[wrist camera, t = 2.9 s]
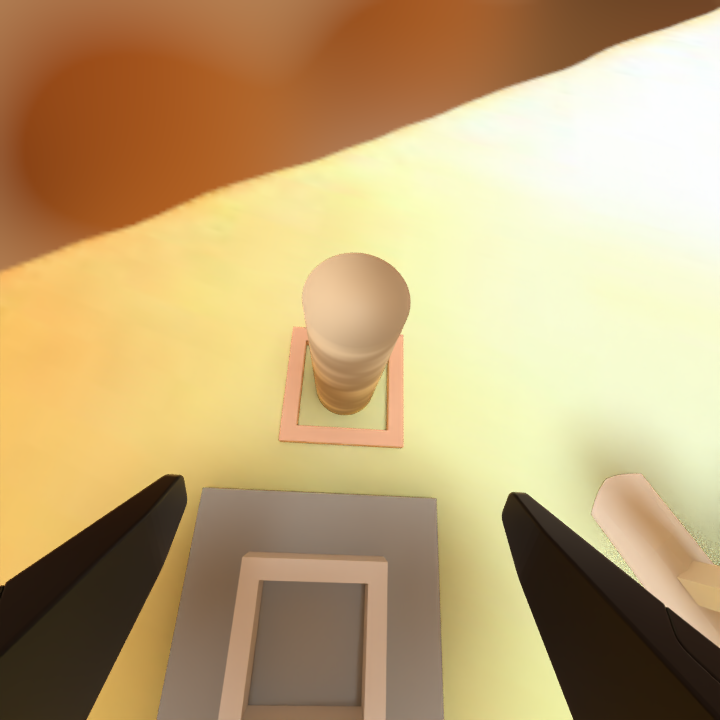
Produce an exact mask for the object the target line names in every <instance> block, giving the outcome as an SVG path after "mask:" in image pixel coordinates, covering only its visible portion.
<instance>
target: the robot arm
mask: <svg viewBox="0 0 720 720" xmlns="http://www.w3.org/2000/svg"><path fill="white" fill-rule="evenodd" d="M186 504H187V493H186V487H185V481H184V477H183V476H182V475H174V474H167V475H164V476H163V477H161V478H160V479H158V480H157V481H155V482H154V483H152V484H151V485H149V486H148V487H146V488H145V489H143V490H142V491H140V492H139V493H137V494H136V495H134V496H133V497H131V498H130V499H129V500H127V501H126V502H124V503H123V504H121V505H120V506H118V507H117V508H115V509H114V510H112V511H111V512H109V513H108V514H106V515H105V516H103V517H102V518H100V519H99V520H97V521H96V522H94V523H93V524H92V525H90V526H89V527H87V528H86V529H84V530H83V531H81V532H80V533H78V534H77V535H75V536H74V537H72V538H71V539H69V540H68V541H66V542H65V543H63V544H62V545H60V546H59V547H57V548H56V549H55V550H53V551H52V552H50V553H49V554H47V555H46V556H44V557H43V558H41V559H40V560H38V561H37V562H35V563H34V564H32V565H31V566H29V567H28V568H26V569H25V570H23V571H22V572H20V573H19V574H18V575H16V576H15V577H13V578H12V579H10V580H9V581H7V582H6V584H5V586H4V585H1V586H0V720H86V719H87V717H88V715H89V713H90V711H91V709H92V707H93V705H94V703H95V701H96V699H97V697H98V695H99V693H100V691H101V689H102V687H103V685H104V683H105V681H106V679H107V677H108V675H109V673H110V671H111V669H112V667H113V665H114V663H115V661H116V659H117V657H118V655H119V653H120V651H121V649H122V647H123V645H124V643H125V641H126V639H127V637H128V635H129V633H130V631H131V629H132V627H133V625H134V623H135V621H136V619H137V617H138V615H139V613H140V611H141V609H142V607H143V605H144V603H145V601H146V599H147V597H148V595H149V593H150V591H151V589H152V587H153V585H154V583H155V581H156V579H157V577H158V575H159V573H160V571H161V569H162V567H163V564H164V562H165V559H166V557H167V555H168V552H169V549H170V547H171V544H172V541H173V539H174V536H175V534H176V531H177V528H178V526H179V523H180V520H181V518H182V515H183V513H184V510H185V507H186ZM502 521H503V525H504V529H505V532H506V536H507V539H508V543H509V546H510V550H511V553H512V557H513V560H514V564H515V568H516V571H517V574H518V577H519V580H520V583H521V586H522V588H523V591H524V594H525V596H526V599H527V601H528V604H529V606H530V609H531V612H532V614H533V617H534V619H535V622H536V624H537V627H538V630H539V632H540V635H541V637H542V640H543V642H544V645H545V648H546V650H547V653H548V655H549V658H550V661H551V663H552V666H553V668H554V671H555V673H556V676H557V679H558V681H559V684H560V686H561V689H562V691H563V694H564V697H565V699H566V702H567V704H568V707H569V710H570V712H571V715H572V717H573V720H720V648H719V647H718V646H717V645H715V644H714V643H713V642H712V641H710V640H709V639H708V638H707V637H705V636H704V635H703V634H701V633H700V632H699V631H698V630H696V629H695V628H694V627H692V626H691V625H690V624H689V623H687V622H686V621H685V620H684V619H682V618H681V617H680V616H679V615H677V614H676V613H675V612H674V611H672V610H671V609H670V608H669V607H665V605H664V603H662V602H661V601H660V600H659V599H657V598H656V597H655V596H654V595H652V594H651V593H650V592H649V591H647V590H646V589H645V588H644V587H642V586H641V585H640V584H639V583H637V582H636V581H635V580H634V579H632V578H631V577H630V576H629V575H627V574H626V573H625V572H624V571H623V570H621V569H620V568H619V567H618V566H616V565H615V564H614V563H613V562H611V561H610V560H609V559H608V558H606V557H605V556H604V555H603V554H601V553H600V552H599V551H598V550H596V549H595V548H594V547H593V546H591V545H590V544H589V543H588V542H586V541H585V540H584V539H583V538H581V537H580V536H579V535H578V534H576V533H575V532H574V531H573V530H571V529H570V528H569V527H568V526H566V525H565V524H564V523H563V522H562V521H560V520H559V519H558V518H557V517H555V516H554V515H553V514H552V513H550V512H549V511H548V510H547V509H545V508H544V507H543V506H542V505H540V504H539V503H538V502H537V501H535V500H534V499H533V498H532V497H530V496H529V495H528V494H526V493H521V492H511V493H510V494H509V496H508V498H507V501H506V504H505V506H504V509H503V512H502Z"/></svg>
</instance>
